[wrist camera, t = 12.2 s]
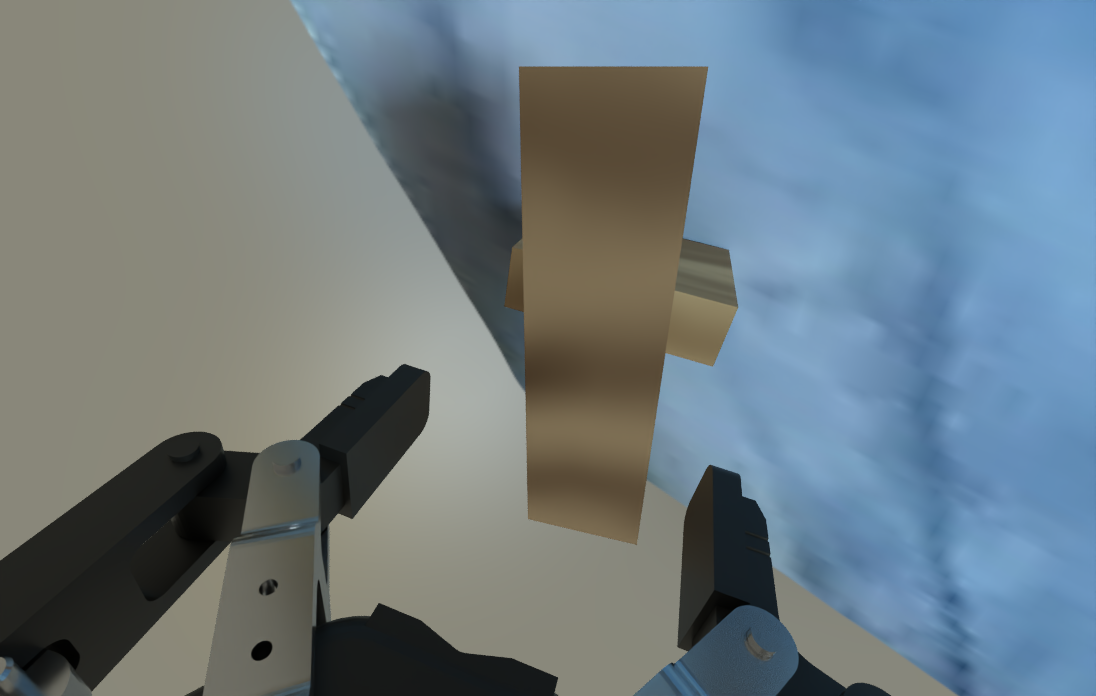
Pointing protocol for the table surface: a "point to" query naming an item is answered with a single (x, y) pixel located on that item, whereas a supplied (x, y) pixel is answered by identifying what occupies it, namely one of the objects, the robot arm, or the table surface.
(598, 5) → the table surface
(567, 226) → the batten
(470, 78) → the table surface
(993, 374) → the table surface
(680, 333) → the fulcrum
